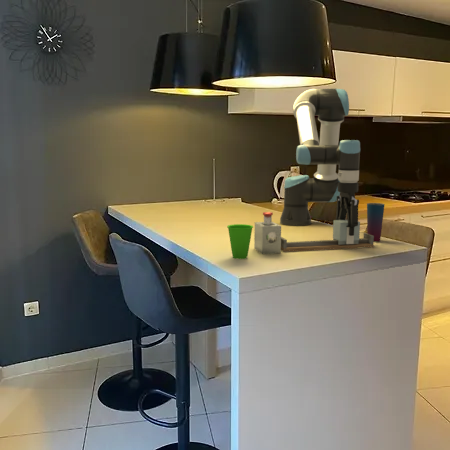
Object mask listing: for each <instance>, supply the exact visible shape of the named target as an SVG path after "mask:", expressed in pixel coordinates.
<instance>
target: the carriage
mask: <svg viewBox="0 0 450 450" xmlns="http://www.w3.org/2000/svg"><path fill="white" fill-rule="evenodd" d="M332 222H333V225H332V240H338V245H344V244H346V234H347V227H346V226H348V219H345V220H336V219H333V221H332ZM360 231H361V221H359V220H358V226H355V227H354V244H358V242H359V239H360Z"/></svg>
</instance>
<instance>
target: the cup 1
mask: <svg viewBox="0 0 450 450" xmlns="http://www.w3.org/2000/svg"><path fill="white" fill-rule="evenodd" d="M227 229H228V230H227V231H228V235H229V242H230V249H231V254H232V257H233V258H232V259H236V260H243V259H244V260H245V259H247V258H248V255H249V249H250V243H251V237H252V232H253V229H254V226H253V225H251V224H246V223H245V224H244V223H243V224H241V223H236V224H235V223H234V224H229V225H227Z"/></svg>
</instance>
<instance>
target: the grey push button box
mask: <svg viewBox="0 0 450 450" xmlns="http://www.w3.org/2000/svg"><path fill="white" fill-rule="evenodd" d="M253 236H254V238H253V239H254V240H253V241H254V244H253V245H254V250H256V251H257V252H258V253H259V254H261V255H271V254H273V255H275V254H282V253H281V252H282V250H281V237H282V225H281V224H278V223H276V222H274V221H272V223H271V225H264V221H256V222H254V235H253Z"/></svg>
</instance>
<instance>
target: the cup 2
mask: <svg viewBox="0 0 450 450" xmlns="http://www.w3.org/2000/svg"><path fill="white" fill-rule="evenodd" d="M384 213H385V203H382V202H368V203H366V214H367V215H366V216H367V217H366V220H367V222H366V227H367V228H366V229H367V230H366V231H367V232H366V233H367V234H370V235H373V236H374V241H378V242H381V237H382V228H383V222H384Z"/></svg>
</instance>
